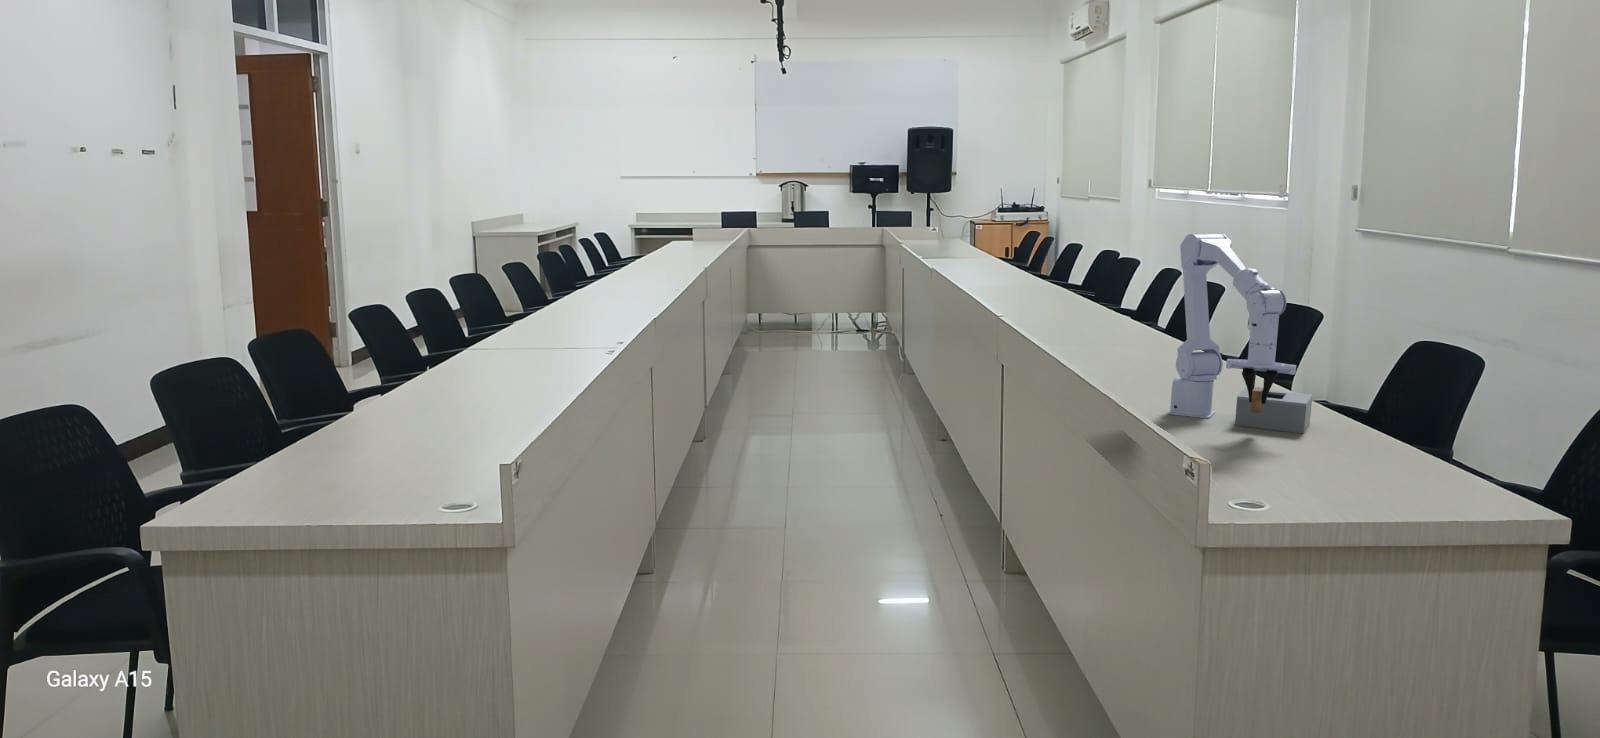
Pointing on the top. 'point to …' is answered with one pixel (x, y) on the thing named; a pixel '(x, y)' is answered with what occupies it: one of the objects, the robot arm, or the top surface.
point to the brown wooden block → (1257, 400)
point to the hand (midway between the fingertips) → (1257, 402)
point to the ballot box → (1276, 412)
